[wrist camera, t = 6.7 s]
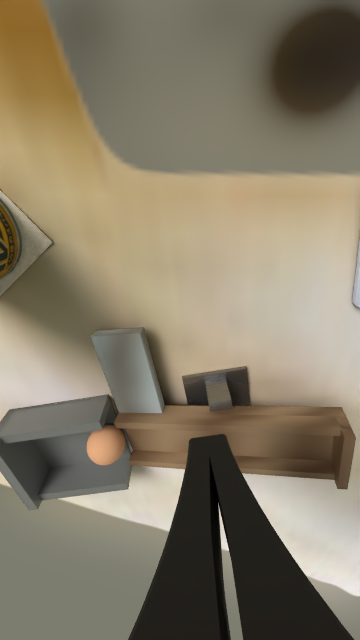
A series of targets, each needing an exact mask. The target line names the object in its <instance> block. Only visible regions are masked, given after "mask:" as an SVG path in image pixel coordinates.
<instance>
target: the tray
mask: <svg viewBox="0 0 360 640" xmlns="http://www.w3.org/2000/svg"><path fill="white" fill-rule="evenodd" d="M115 419H116V414H115V411H114V409H113V406H112V404H111V401H110V398H109V396H108V395H103V396H96V397H90V398H83V399H77V400H70V401H64V402H57V403H51V404H44V405H38V406H31V407H25V408H18V409H12V410H9V411H8V412H7V414H6V415H5V416H4V417H3V419H2V420H1V421H0V472H1V473H2V474H3V476H4V477H5V479H6V480H7V481H8V483H9V484H10V485H11V487H12V488H13V489H14V491H15V492H16V493H17V495H18V496H19V497H20V499H21V500H22V501H23V503H24V504H25V506H26V507H27V508H28V510H36V509H38V508H39V506H40V503H41V501H42V500H49V499H57V498H65V497H72V496H80V495H88V494H95V493H103V492H111V491H118V490H126V489H128V487H129V481H130V474H131V468H132V465H130V462H129V459H130V456H131V453H130V450H129V448H128V445H127V443H126V440H125V448H124V451H123V453H122V455H121V456H120V458H119V459H118V460H117V461H115V462H114V463H112V464H109V465H98V464H96V463H94V462H93V461H92V460H91V459H90V458H89V456H88V453H87V441H88V438H89V436H90V435H91V433H92V432H93V431H96V430H103V427H104V425H114V426H115V424H114V421H115ZM119 429H120V430H121V428H119ZM121 431H122V430H121ZM122 433H123V432H122ZM124 438H125V437H124Z"/></svg>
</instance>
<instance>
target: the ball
mask: <svg viewBox="0 0 360 640" xmlns="http://www.w3.org/2000/svg"><path fill="white" fill-rule="evenodd" d="M124 448H125V438H124V435H123V433H122V431H121V430H120V429H119V428H116V427H115V426H114V425H104V427H103V430H96V431H93V432H92V433H91V435H90V436H89V438H88V441H87V453H88V456H89V458H90V459H91V460H92V461H93V462H94V463H96V464H98V465H109V464H112V463H114V462H115V461H117V460H118V459H119V458H120V456H121V455H122V453H123V451H124Z"/></svg>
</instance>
